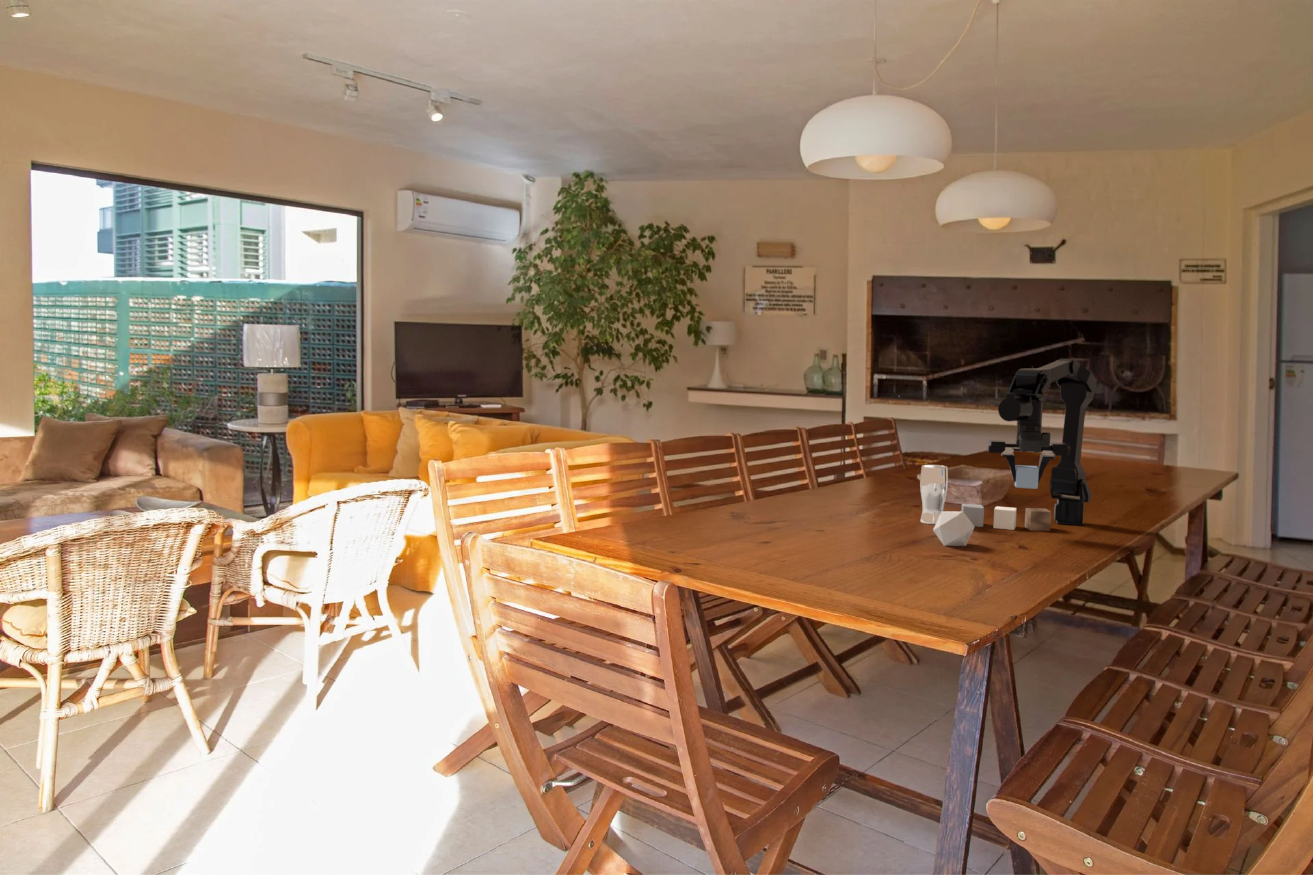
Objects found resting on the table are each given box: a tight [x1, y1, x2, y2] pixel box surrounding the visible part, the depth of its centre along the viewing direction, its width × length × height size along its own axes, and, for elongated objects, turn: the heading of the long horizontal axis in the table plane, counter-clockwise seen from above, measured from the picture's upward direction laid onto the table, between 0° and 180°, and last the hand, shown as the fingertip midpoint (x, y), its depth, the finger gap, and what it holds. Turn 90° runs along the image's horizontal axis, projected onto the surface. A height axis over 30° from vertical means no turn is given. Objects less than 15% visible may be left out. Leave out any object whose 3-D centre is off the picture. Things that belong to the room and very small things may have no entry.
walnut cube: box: [1024, 507, 1052, 532], centre depth 244 cm, size 5×5×5 cm
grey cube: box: [961, 503, 985, 528], centre depth 248 cm, size 5×5×5 cm
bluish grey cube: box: [1014, 464, 1039, 490], centre depth 235 cm, size 5×5×5 cm
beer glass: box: [919, 464, 949, 526], centre depth 250 cm, size 7×7×15 cm
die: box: [932, 510, 975, 547], centre depth 222 cm, size 8×9×10 cm
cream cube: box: [992, 505, 1017, 531], centre depth 245 cm, size 5×5×5 cm
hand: (1026, 482), depth 235 cm, fingers closed on bluish grey cube, 5 cm apart
